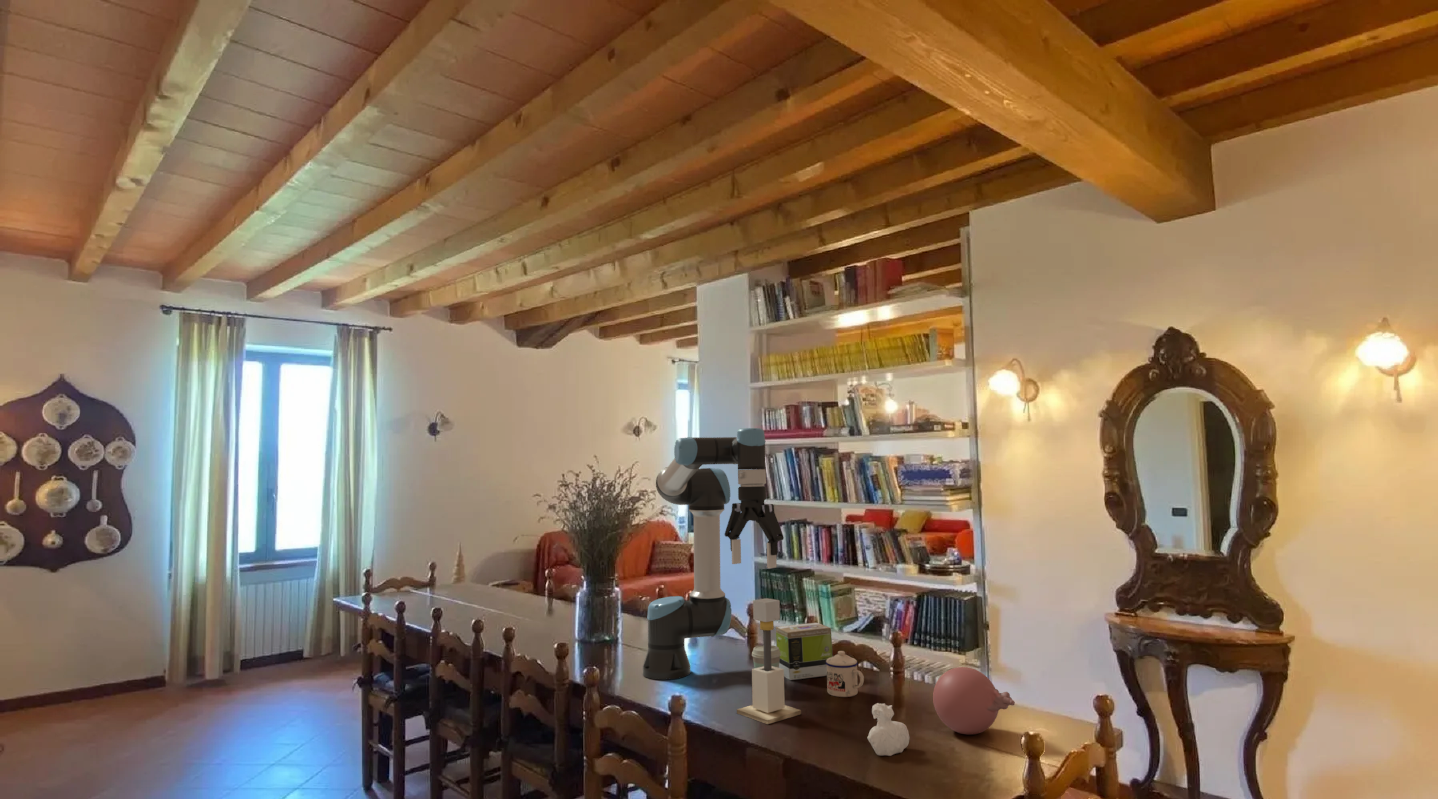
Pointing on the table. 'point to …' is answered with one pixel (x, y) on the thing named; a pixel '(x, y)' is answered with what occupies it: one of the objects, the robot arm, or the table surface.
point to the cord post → (766, 624)
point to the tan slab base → (768, 714)
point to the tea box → (804, 650)
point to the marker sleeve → (768, 689)
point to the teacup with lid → (843, 675)
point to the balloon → (968, 700)
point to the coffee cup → (759, 656)
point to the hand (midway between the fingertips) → (753, 565)
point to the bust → (887, 732)
